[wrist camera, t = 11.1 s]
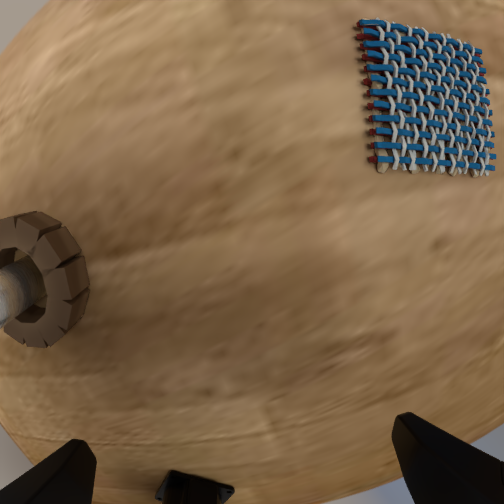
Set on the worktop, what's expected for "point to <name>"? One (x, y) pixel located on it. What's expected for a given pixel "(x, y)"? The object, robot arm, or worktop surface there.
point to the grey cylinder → (19, 288)
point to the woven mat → (426, 99)
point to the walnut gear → (46, 277)
